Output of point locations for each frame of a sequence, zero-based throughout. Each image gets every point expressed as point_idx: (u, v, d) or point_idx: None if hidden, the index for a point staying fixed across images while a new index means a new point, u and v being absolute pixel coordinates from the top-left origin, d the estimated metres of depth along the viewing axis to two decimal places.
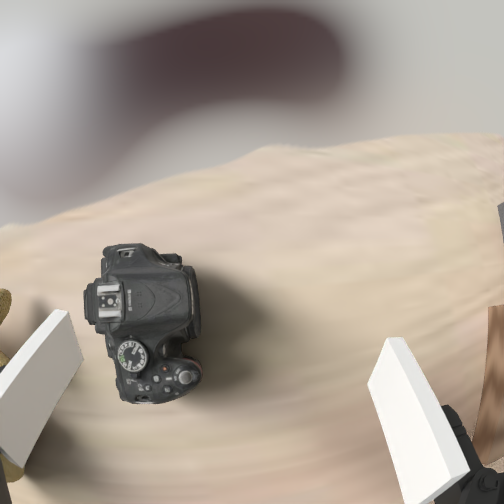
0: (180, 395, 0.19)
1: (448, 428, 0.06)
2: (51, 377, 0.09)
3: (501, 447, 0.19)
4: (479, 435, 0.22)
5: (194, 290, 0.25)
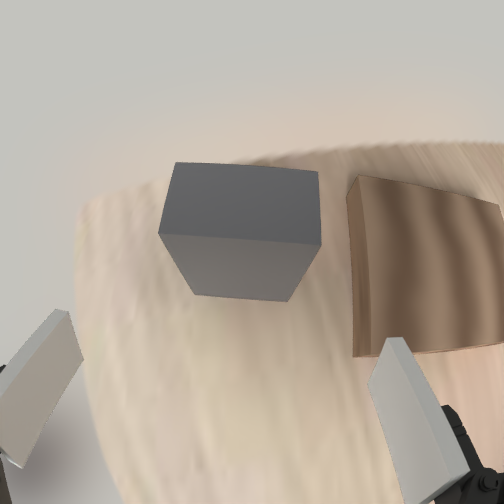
0: None
1: (448, 427, 0.06)
2: (51, 377, 0.09)
3: None
4: None
5: None
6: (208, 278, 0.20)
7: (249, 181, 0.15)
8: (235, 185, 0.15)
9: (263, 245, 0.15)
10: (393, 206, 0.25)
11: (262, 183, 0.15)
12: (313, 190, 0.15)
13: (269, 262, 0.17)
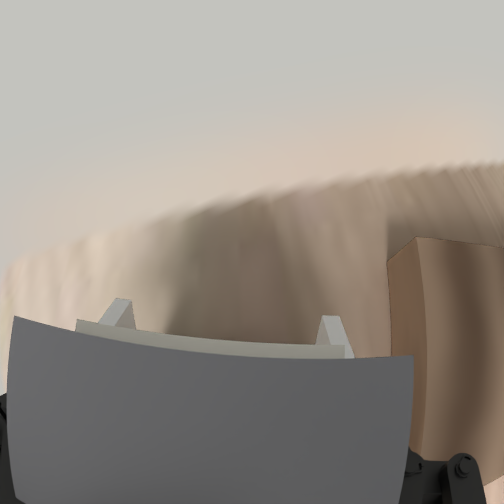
0: None
1: None
2: None
3: None
4: None
5: None
6: None
7: (201, 417, 0.04)
8: (157, 428, 0.04)
9: None
10: (464, 290, 0.13)
11: (244, 425, 0.04)
12: (397, 426, 0.04)
13: None
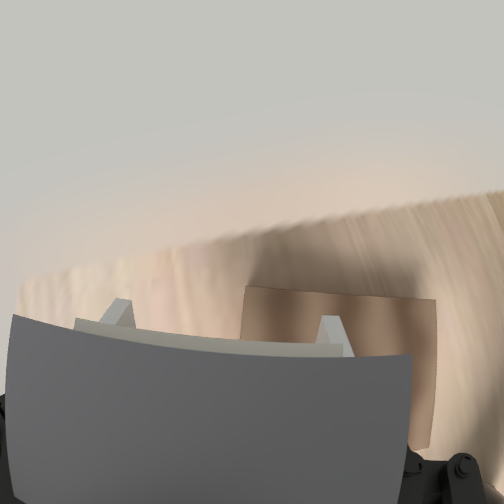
0: None
1: None
2: None
3: (419, 427, 0.21)
4: None
5: None
6: None
7: (199, 416, 0.04)
8: (155, 426, 0.04)
9: None
10: (279, 323, 0.25)
11: (242, 424, 0.04)
12: (395, 425, 0.04)
13: None
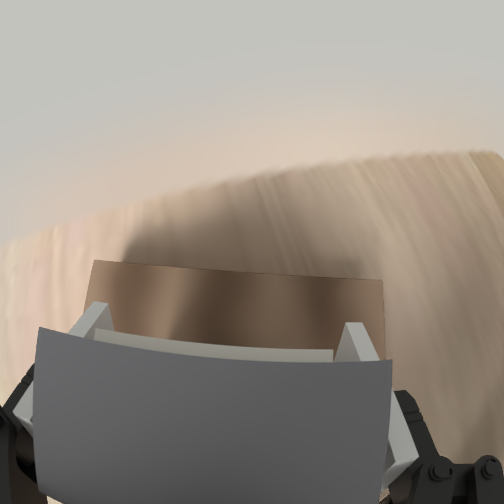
0: None
1: (399, 411, 0.07)
2: None
3: None
4: None
5: None
6: None
7: (209, 412, 0.05)
8: (172, 422, 0.05)
9: None
10: (125, 308, 0.18)
11: (245, 418, 0.05)
12: (377, 420, 0.05)
13: None
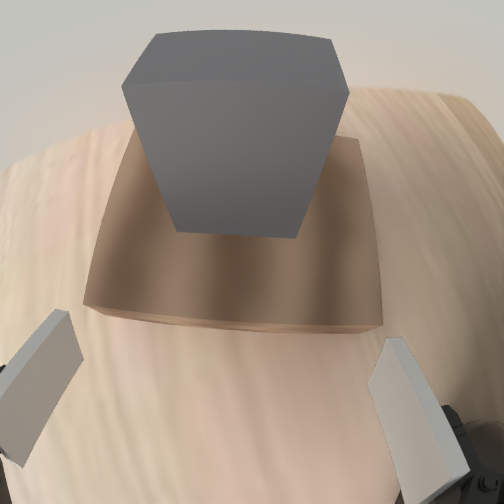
0: None
1: (448, 427, 0.06)
2: (51, 377, 0.09)
3: (358, 287, 0.19)
4: (321, 331, 0.20)
5: None
6: (192, 189, 0.15)
7: (246, 39, 0.10)
8: (228, 42, 0.10)
9: (267, 94, 0.09)
10: None
11: (263, 41, 0.10)
12: (328, 50, 0.10)
13: (275, 137, 0.11)
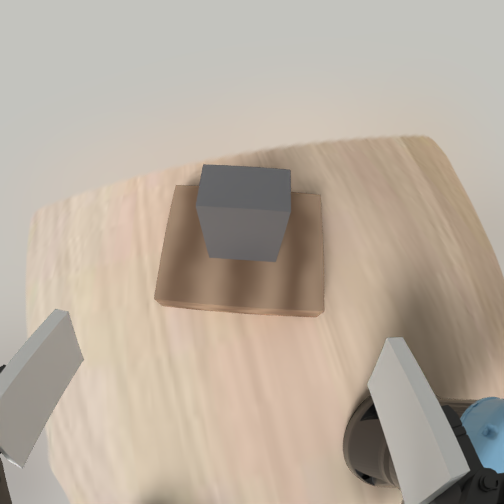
0: None
1: (448, 427, 0.06)
2: (51, 377, 0.09)
3: (310, 289, 0.34)
4: (290, 314, 0.36)
5: None
6: (221, 240, 0.31)
7: (248, 176, 0.26)
8: (240, 178, 0.26)
9: (257, 212, 0.25)
10: (194, 205, 0.38)
11: (256, 177, 0.26)
12: (287, 181, 0.26)
13: (261, 224, 0.27)
